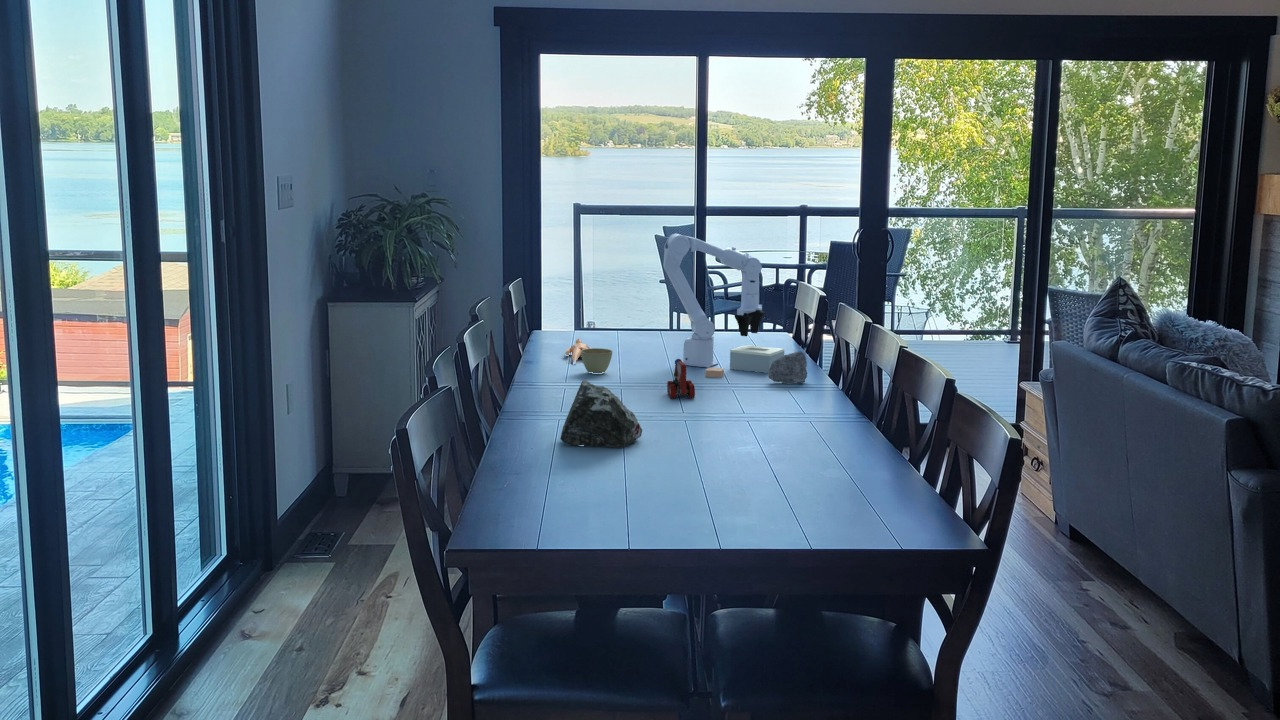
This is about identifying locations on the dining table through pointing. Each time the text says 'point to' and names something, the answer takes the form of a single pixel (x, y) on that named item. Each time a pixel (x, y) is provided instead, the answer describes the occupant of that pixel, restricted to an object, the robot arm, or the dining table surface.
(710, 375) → the block
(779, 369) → the rock
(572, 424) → the stone
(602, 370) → the flower pot
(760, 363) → the box
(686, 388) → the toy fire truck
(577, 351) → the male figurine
